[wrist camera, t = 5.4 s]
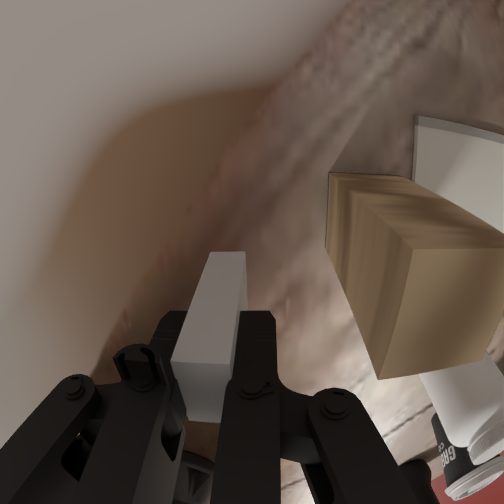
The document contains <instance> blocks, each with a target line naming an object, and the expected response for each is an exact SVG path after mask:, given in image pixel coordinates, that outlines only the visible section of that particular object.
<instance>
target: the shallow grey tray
mask: <svg viewBox="0 0 504 504" xmlns="http://www.w3.org/2000/svg"><path fill="white" fill-rule="evenodd" d="M412 182H414V183H416V184H418V185H420V186H422V187H424V188H426V189H428V190H430V191H432V192H434V193H436V194H438V195H440V196H441V197H443V198H445V199H447V200H449V201H451V202H452V203H454V204H456V205H458V206H459V207H461V208H463V209H465V210H466V211H468V212H470V213H472V214H473V215H475V216H477V217H478V218H480V219H481V220H483V221H485V222H486V223H488V224H490V225H491V226H493V227H494V228H496V229H497V230H499V231H500V232H502V233H504V135H501V134H497V133H494V132H490V131H487V130H483V129H479V128H476V127H472V126H468V125H463V124H459V123H455V122H450V121H446V120H441V119H436V118H430V117H425V116H419V115H415V130H414V154H413V169H412Z"/></svg>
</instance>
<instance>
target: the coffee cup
mask: <svg viewBox="0 0 504 504" xmlns="http://www.w3.org/2000/svg"><path fill="white" fill-rule="evenodd" d="M431 422H432V425H433V429H434V433H435V436H436V440H437V444H438V448H439V452H440V456H441V460H442V464H443V469H444V474H445V478H446V484H447V489H446V490H445V493H446V494H447V495H448V496H449V497H452V499H453V500H459V499H462V498H464V497H467V496H469V495H471V494H473V493H474V492H477V491H478V490H480V489H482V488H483V487H485V486H487V485H488V484H490V483H491V482H492V481H494V480H495V479H496V478H498V477H499V476H500V475H501V474H502V473H503V471H504V468H503V465H504V456H500V455H499V454H497V455H496V456H494V457H493V458H491V459H489V460H488V461H486V462H484V463H481V464H479V465H474V464H473V463H472V461H471V458H470V456H469V452H468V450H467V448H468V447H456V446H454V445H453V444H452V443H451V442H450V441H449V439H448V437H447V435H446V433H445V430H444V428H443V426H442V423H441V421H440V419H439V417H438V414H437V412H436V413H435V415H434V416H433V417H432V420H431Z"/></svg>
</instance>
